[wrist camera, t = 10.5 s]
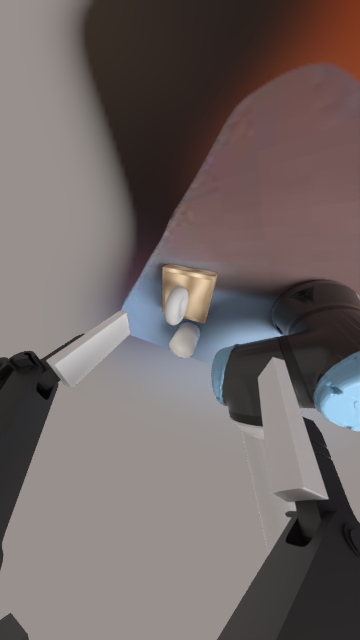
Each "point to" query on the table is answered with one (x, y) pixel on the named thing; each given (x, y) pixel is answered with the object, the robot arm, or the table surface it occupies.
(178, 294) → the donut
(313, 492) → the robot arm
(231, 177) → the table surface
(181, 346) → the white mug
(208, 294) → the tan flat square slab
